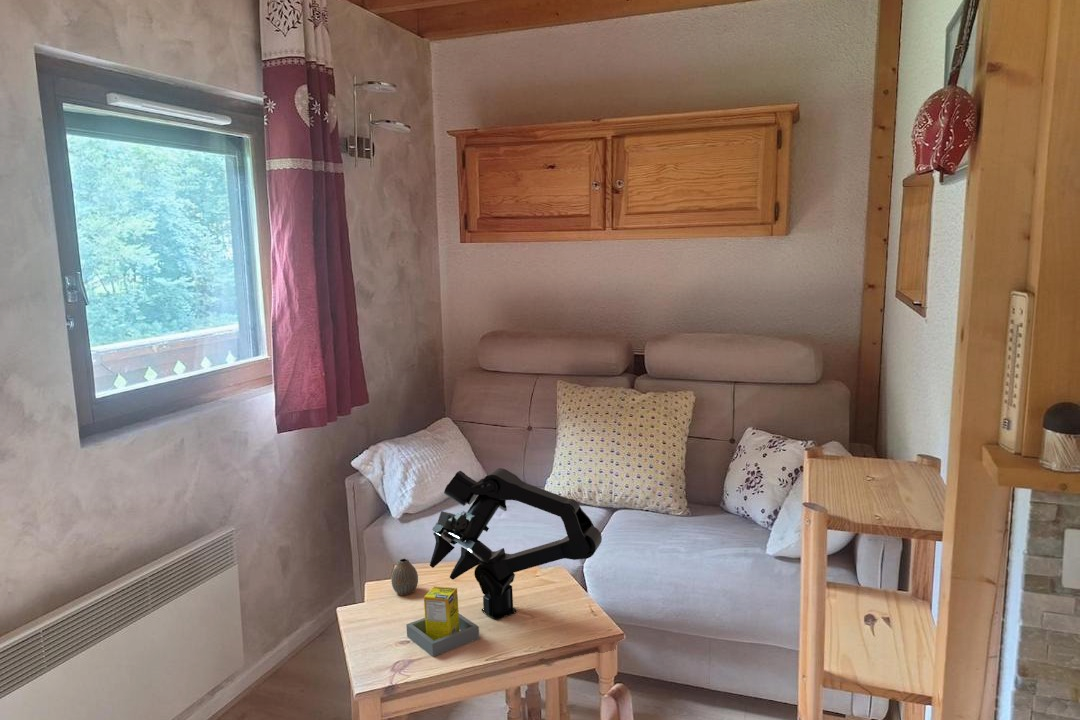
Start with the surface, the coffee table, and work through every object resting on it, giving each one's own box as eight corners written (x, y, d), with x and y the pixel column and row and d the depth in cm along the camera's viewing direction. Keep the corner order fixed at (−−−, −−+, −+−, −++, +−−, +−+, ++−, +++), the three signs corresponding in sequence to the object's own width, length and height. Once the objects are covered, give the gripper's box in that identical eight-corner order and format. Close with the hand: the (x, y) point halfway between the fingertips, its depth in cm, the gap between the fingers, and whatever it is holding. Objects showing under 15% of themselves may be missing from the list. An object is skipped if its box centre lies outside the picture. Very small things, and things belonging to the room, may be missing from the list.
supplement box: (460, 632, 173) (457, 587, 171) (450, 645, 167) (448, 598, 166) (436, 630, 174) (433, 585, 173) (426, 642, 168) (423, 596, 167)
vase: (413, 598, 191) (411, 566, 190) (388, 597, 193) (385, 564, 192) (422, 587, 198) (420, 555, 197) (398, 585, 199) (396, 554, 198)
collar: (452, 620, 179) (451, 608, 178) (479, 638, 169) (478, 626, 169) (407, 636, 171) (406, 624, 171) (432, 656, 162) (432, 643, 162)
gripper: (437, 489, 182) (398, 544, 177) (478, 507, 167) (438, 567, 162) (466, 513, 188) (429, 567, 182) (508, 532, 173) (470, 591, 168)
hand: (440, 572), depth 173 cm, fingers open, 9 cm apart
